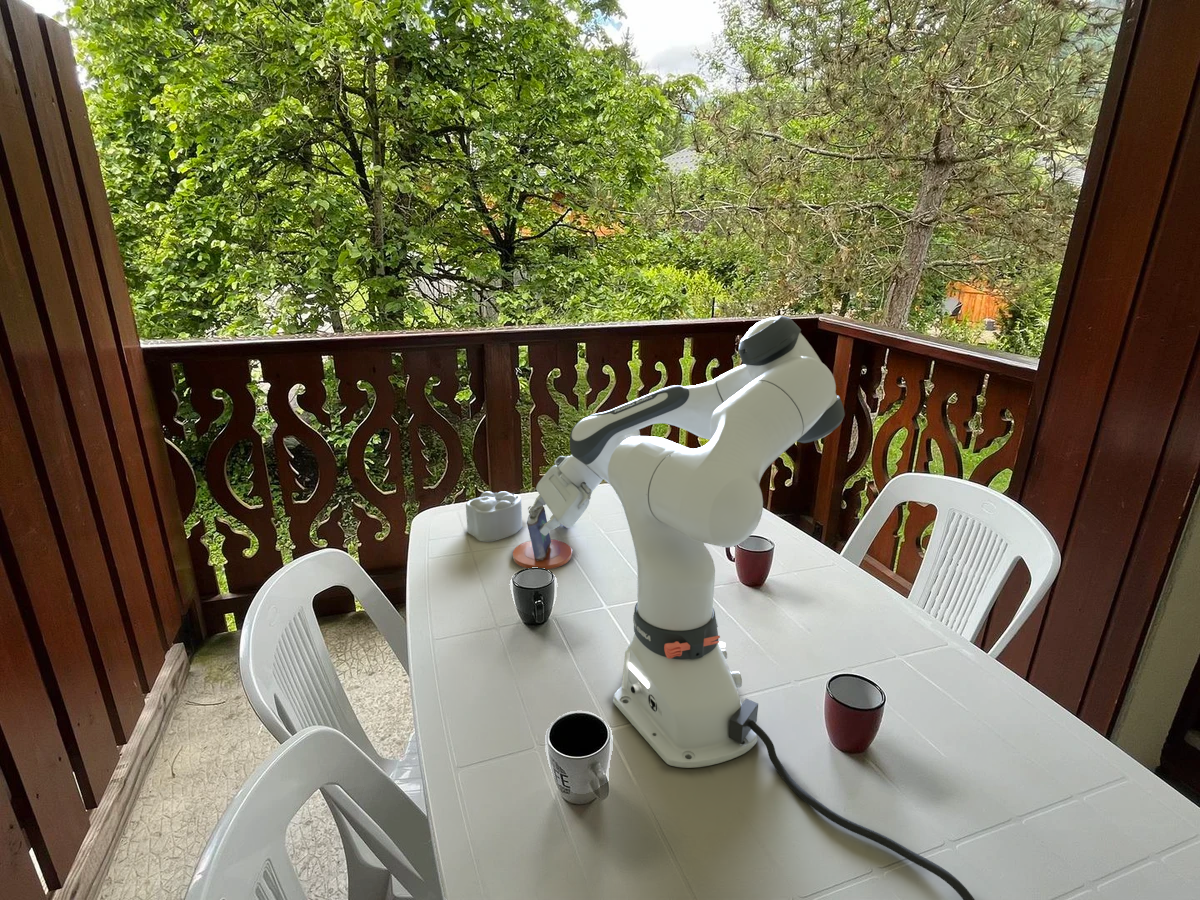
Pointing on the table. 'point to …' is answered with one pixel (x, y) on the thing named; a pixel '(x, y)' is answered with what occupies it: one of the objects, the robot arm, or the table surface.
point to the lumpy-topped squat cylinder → (494, 515)
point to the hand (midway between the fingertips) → (536, 523)
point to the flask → (538, 532)
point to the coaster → (554, 558)
